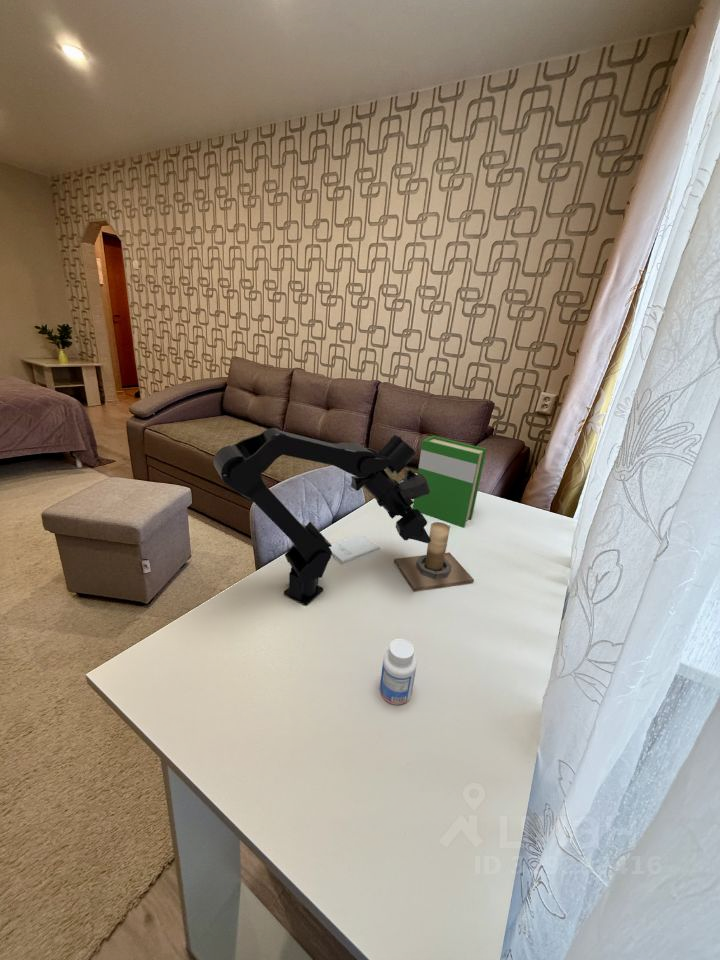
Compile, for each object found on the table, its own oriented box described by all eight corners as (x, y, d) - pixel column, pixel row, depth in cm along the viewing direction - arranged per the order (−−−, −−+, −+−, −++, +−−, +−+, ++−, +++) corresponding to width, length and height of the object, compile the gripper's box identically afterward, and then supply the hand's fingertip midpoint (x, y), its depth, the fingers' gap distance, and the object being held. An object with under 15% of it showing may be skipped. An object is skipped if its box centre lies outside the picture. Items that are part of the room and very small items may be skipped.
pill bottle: (391, 672, 70) (398, 629, 66) (417, 690, 67) (425, 646, 63) (372, 692, 66) (378, 647, 62) (399, 712, 63) (407, 667, 59)
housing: (413, 591, 91) (414, 582, 90) (394, 562, 101) (395, 553, 100) (473, 583, 96) (475, 574, 95) (448, 555, 106) (450, 547, 105)
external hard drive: (379, 551, 106) (342, 566, 99) (360, 537, 112) (323, 550, 104) (379, 546, 106) (342, 560, 98) (360, 532, 111) (324, 545, 104)
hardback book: (471, 519, 127) (486, 448, 118) (463, 528, 121) (478, 454, 112) (421, 502, 136) (432, 435, 126) (412, 510, 130) (422, 440, 120)
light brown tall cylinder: (438, 576, 95) (446, 533, 91) (421, 569, 97) (428, 527, 93) (444, 567, 99) (452, 525, 94) (428, 561, 101) (434, 520, 96)
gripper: (424, 481, 77) (466, 530, 83) (400, 450, 94) (436, 493, 100) (381, 517, 79) (425, 562, 85) (365, 480, 96) (402, 520, 102)
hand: (423, 531), depth 93 cm, fingers open, 9 cm apart
